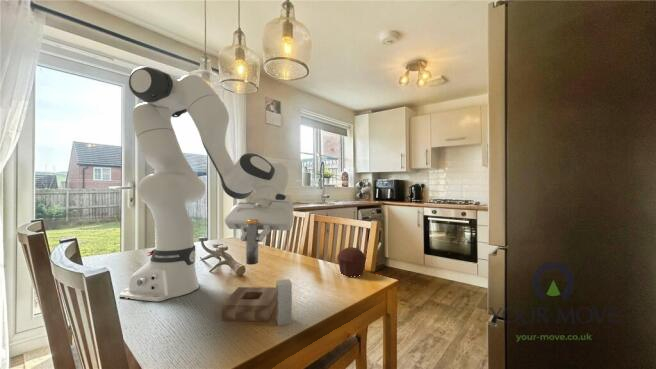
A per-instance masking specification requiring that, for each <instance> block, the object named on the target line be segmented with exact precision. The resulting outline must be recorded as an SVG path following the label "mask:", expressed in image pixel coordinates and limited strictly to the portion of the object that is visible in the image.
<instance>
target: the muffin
mask: <svg viewBox="0 0 656 369" xmlns="http://www.w3.org/2000/svg"><path fill="white" fill-rule="evenodd" d="M336 258H337V260H338V266H339V272H341V273H340V275H341V274H343V275H345V276H352V277H351V278H353V277H354V276H359V275H361V274H362V273H363V274H364V269H365V263H366V260H367V257H366V255H365V254H364V252H363V251H362V250H361V249H359V248H357V247H353V246H352V247H350V246H349V247H345V248H343V249H342V250H341V251H339V253H338V255H337V257H336ZM345 276H344V277H345ZM361 276H362V275H361ZM354 278H355V277H354Z"/></svg>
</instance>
